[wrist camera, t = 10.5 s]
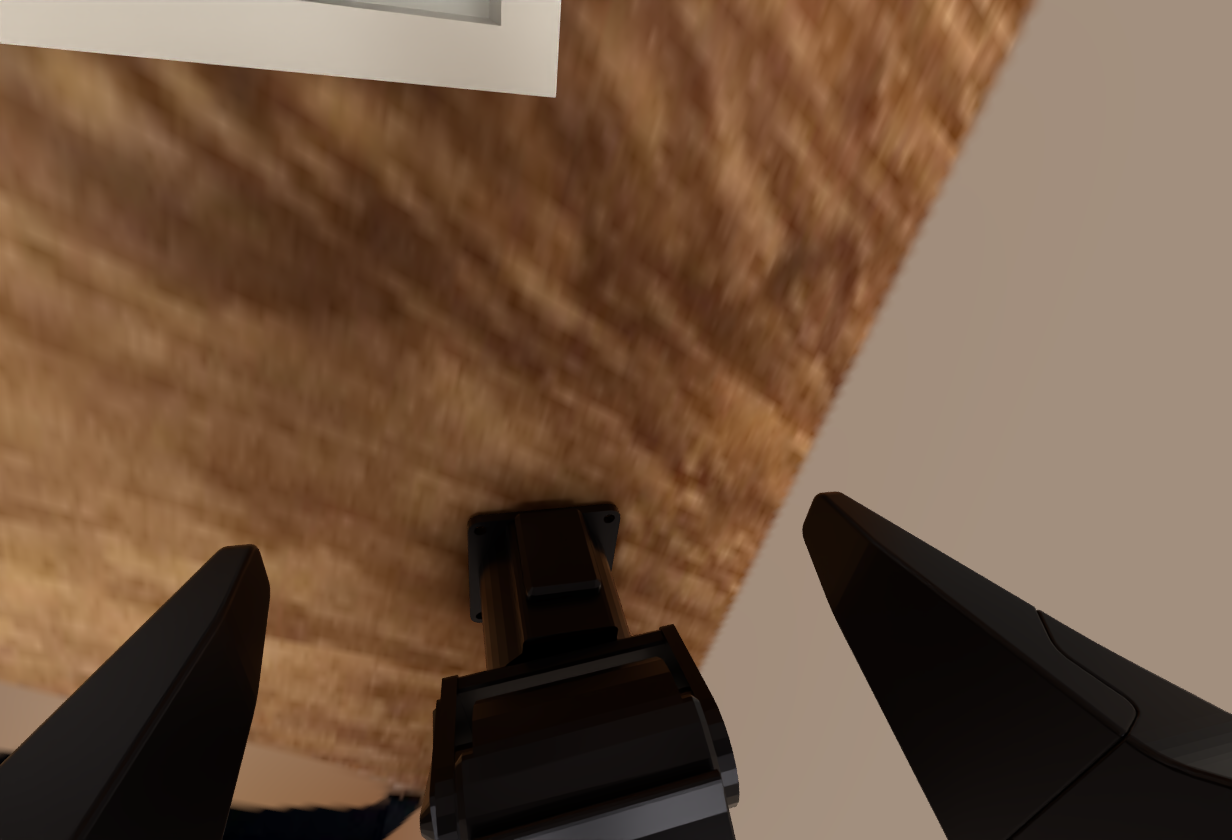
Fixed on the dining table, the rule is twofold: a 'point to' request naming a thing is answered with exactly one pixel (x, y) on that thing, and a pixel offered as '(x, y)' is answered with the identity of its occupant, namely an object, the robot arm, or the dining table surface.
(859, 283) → the dining table surface
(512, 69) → the condiment caddy
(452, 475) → the dining table surface
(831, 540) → the robot arm
